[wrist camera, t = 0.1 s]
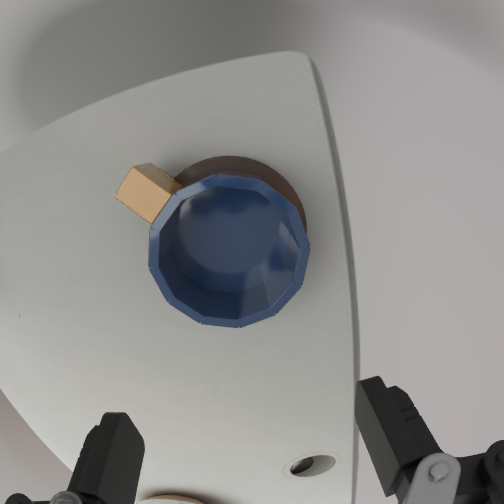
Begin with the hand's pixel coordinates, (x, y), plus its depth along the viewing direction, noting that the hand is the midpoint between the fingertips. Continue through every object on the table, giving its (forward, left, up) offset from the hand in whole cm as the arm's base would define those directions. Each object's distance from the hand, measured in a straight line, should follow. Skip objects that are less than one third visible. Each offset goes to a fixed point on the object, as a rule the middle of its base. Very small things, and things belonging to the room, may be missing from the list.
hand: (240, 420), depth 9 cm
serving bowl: (-2, -2, -19) cm, 19 cm away
